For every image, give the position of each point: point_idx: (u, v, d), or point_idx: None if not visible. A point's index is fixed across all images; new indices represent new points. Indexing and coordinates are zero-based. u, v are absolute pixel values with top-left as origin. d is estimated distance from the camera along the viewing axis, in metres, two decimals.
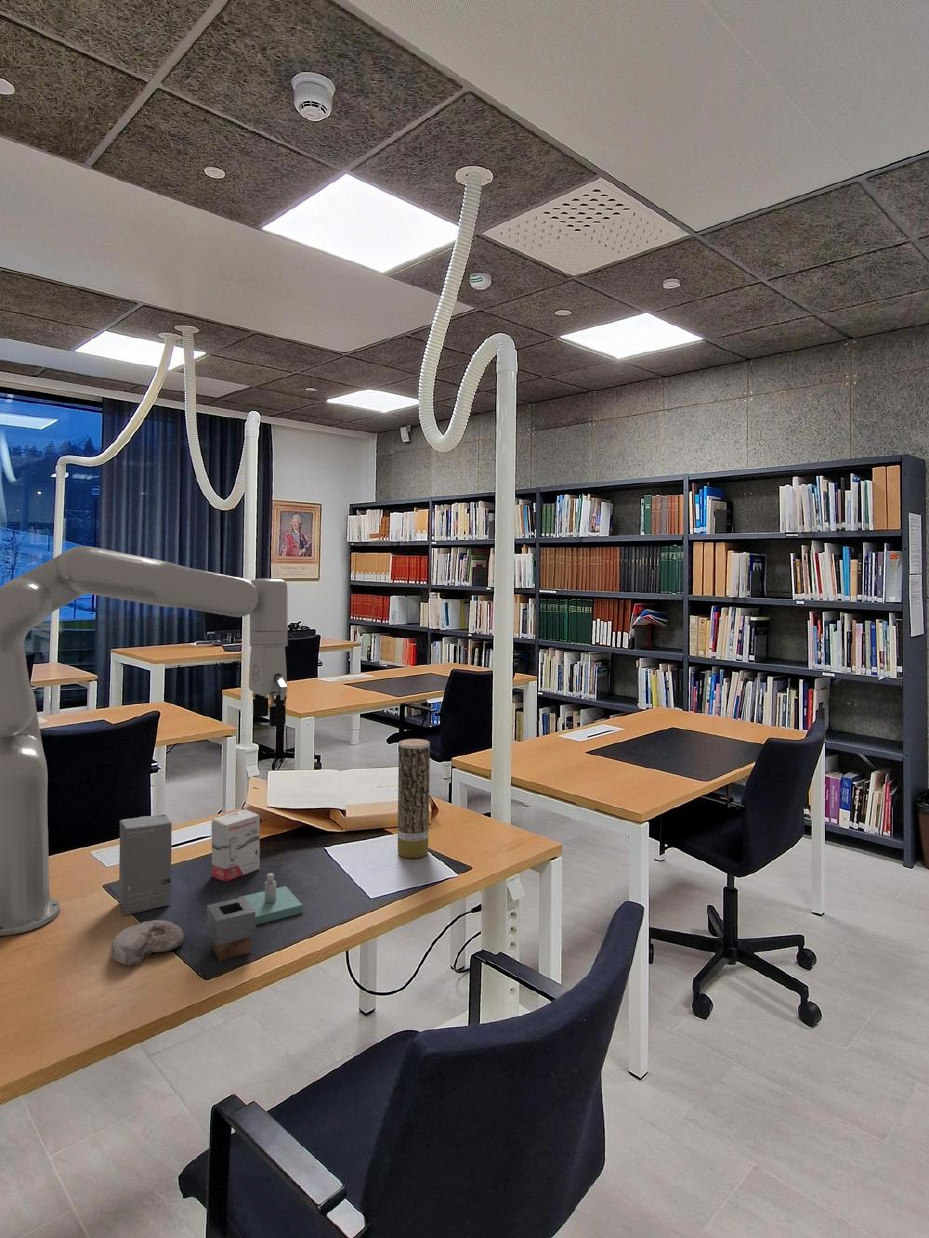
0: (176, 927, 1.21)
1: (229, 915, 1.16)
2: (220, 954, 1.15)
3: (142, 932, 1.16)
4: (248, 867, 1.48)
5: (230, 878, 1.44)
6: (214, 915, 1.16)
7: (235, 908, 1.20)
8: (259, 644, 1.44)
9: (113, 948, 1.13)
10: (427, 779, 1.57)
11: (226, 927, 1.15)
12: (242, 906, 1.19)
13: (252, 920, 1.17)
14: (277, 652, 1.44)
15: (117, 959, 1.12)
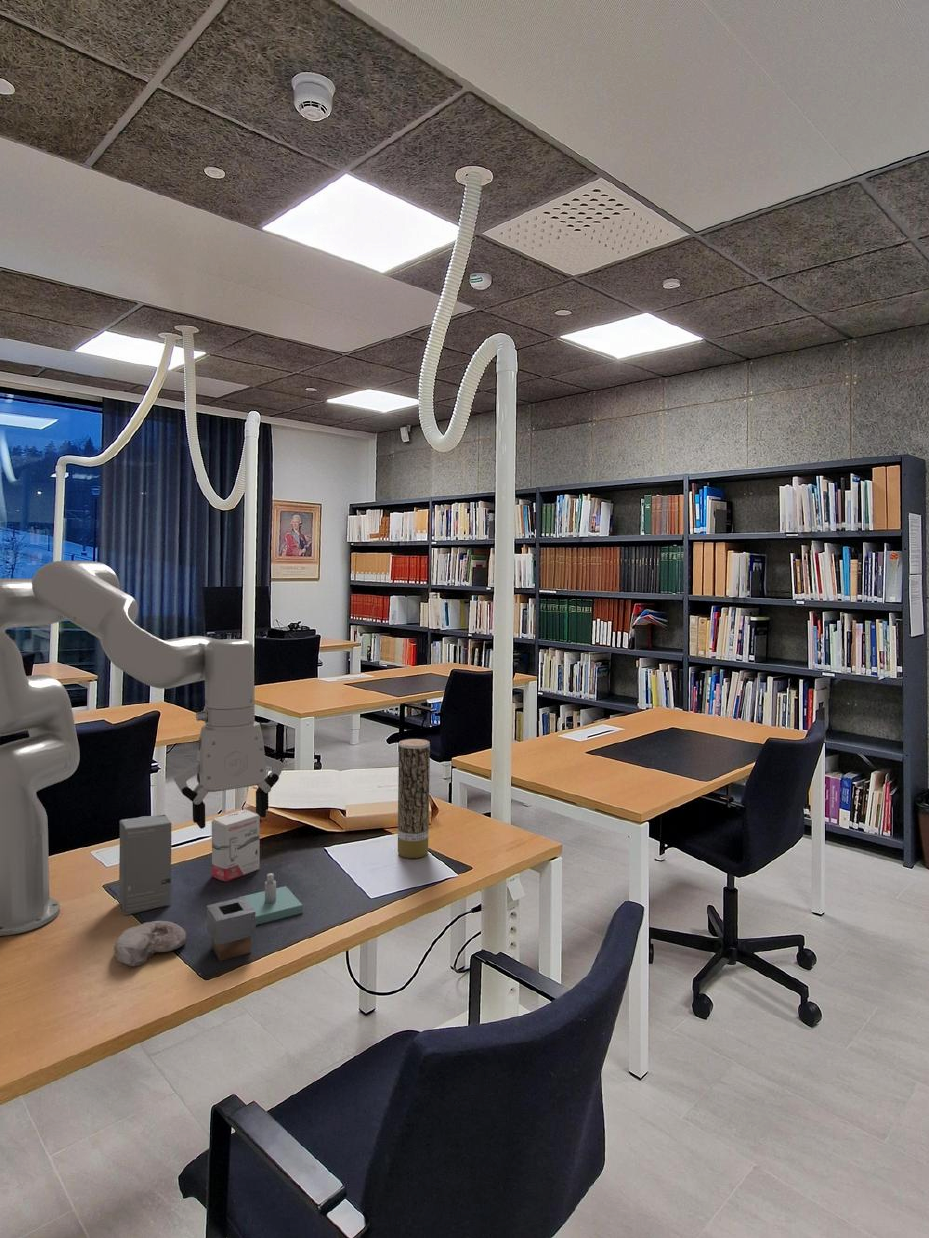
0: (178, 927, 1.21)
1: (229, 915, 1.16)
2: (220, 954, 1.15)
3: (145, 932, 1.16)
4: (248, 867, 1.48)
5: (230, 878, 1.44)
6: (214, 915, 1.16)
7: (235, 908, 1.20)
8: (249, 723, 1.15)
9: (117, 949, 1.13)
10: (427, 779, 1.57)
11: (226, 927, 1.15)
12: (242, 906, 1.19)
13: (252, 920, 1.17)
14: None
15: (122, 960, 1.11)
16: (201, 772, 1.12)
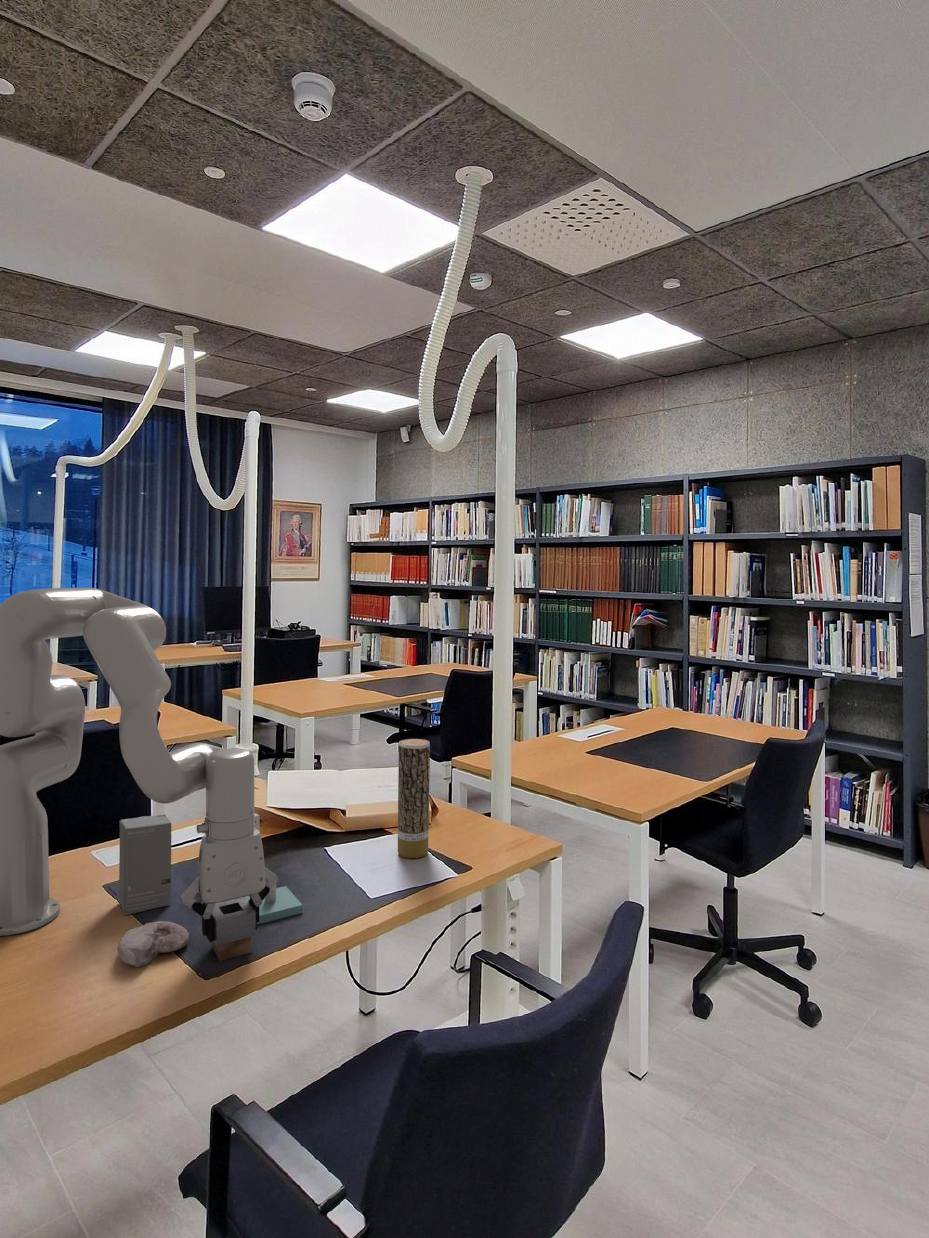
0: (180, 927, 1.21)
1: (229, 915, 1.16)
2: (220, 954, 1.15)
3: (148, 933, 1.16)
4: None
5: None
6: (214, 915, 1.16)
7: (235, 908, 1.20)
8: (249, 834, 1.16)
9: (121, 950, 1.12)
10: (427, 779, 1.57)
11: (226, 927, 1.15)
12: (242, 906, 1.19)
13: (252, 920, 1.17)
14: None
15: (127, 961, 1.11)
16: (201, 885, 1.13)
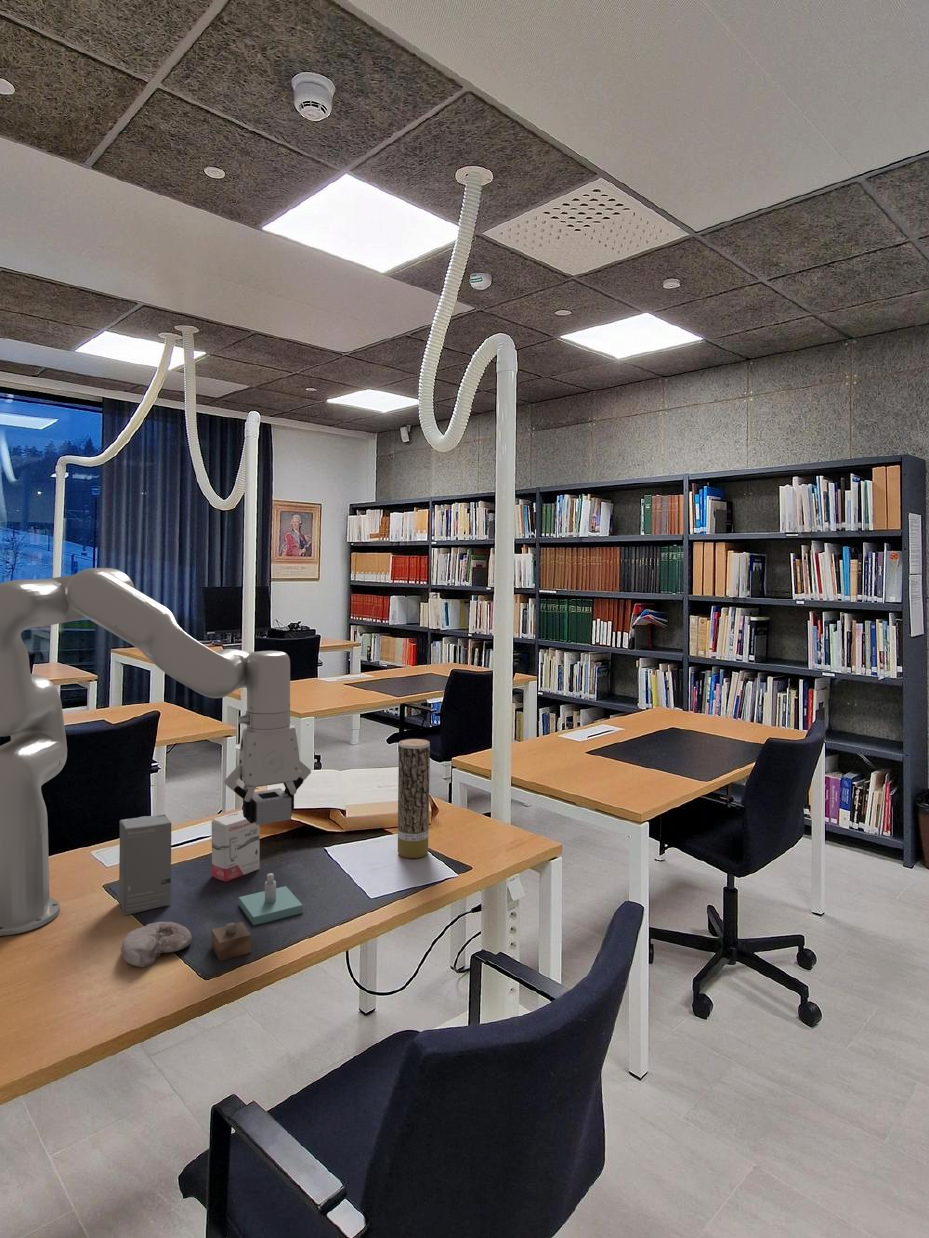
0: (182, 927, 1.21)
1: (268, 799, 1.28)
2: (220, 954, 1.15)
3: (152, 933, 1.16)
4: (248, 867, 1.48)
5: (230, 878, 1.44)
6: (254, 799, 1.28)
7: (272, 797, 1.33)
8: (286, 726, 1.29)
9: (125, 951, 1.12)
10: (427, 779, 1.57)
11: (265, 809, 1.27)
12: (279, 794, 1.31)
13: (288, 805, 1.29)
14: None
15: (131, 962, 1.11)
16: (243, 769, 1.26)
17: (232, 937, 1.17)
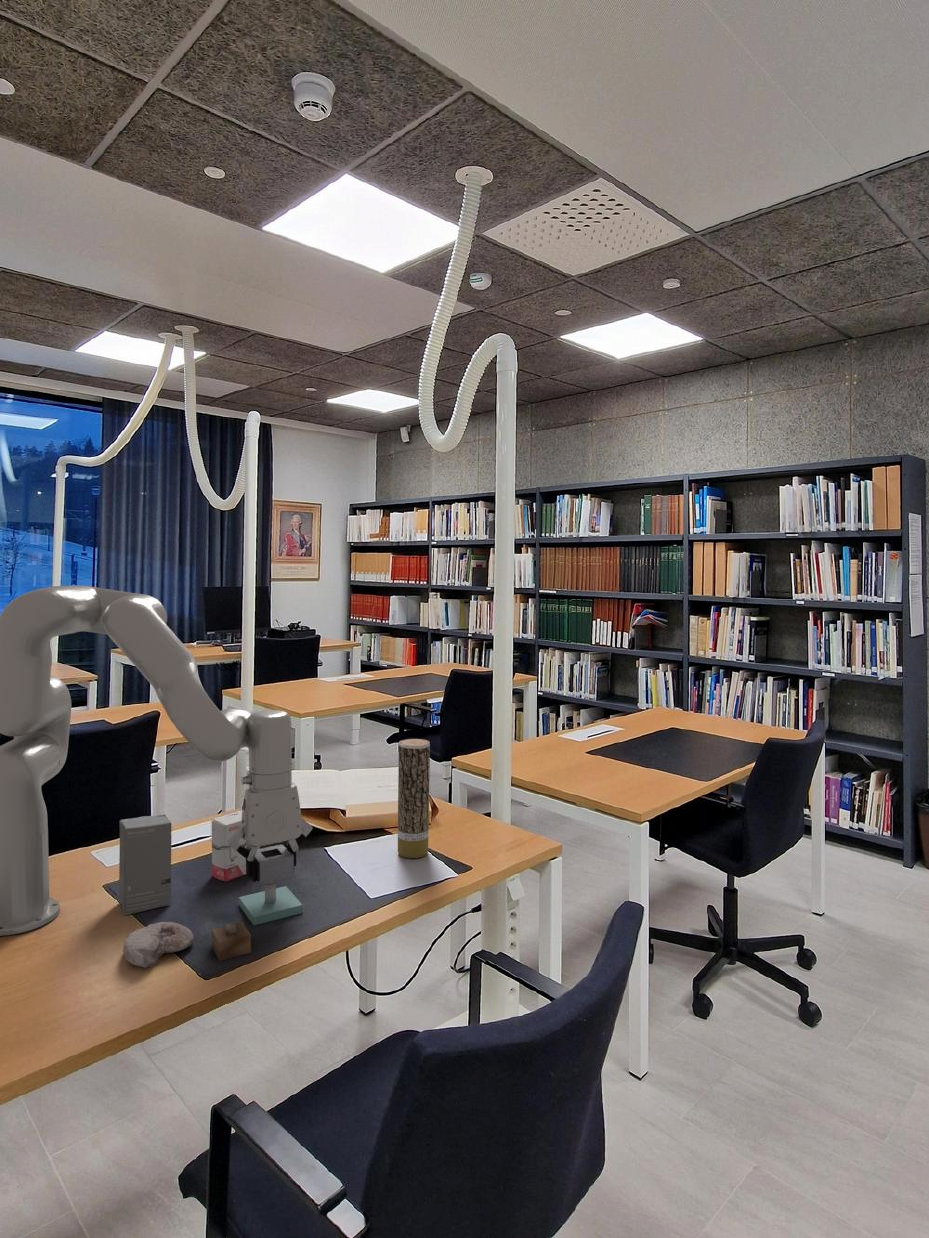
0: (184, 927, 1.21)
1: (270, 858, 1.30)
2: (220, 954, 1.15)
3: (154, 933, 1.16)
4: None
5: (230, 878, 1.44)
6: (257, 858, 1.30)
7: (275, 854, 1.34)
8: (288, 786, 1.30)
9: (128, 951, 1.12)
10: (427, 779, 1.57)
11: (268, 868, 1.29)
12: (281, 851, 1.33)
13: (291, 863, 1.31)
14: None
15: (134, 962, 1.11)
16: (246, 830, 1.27)
17: (232, 937, 1.17)
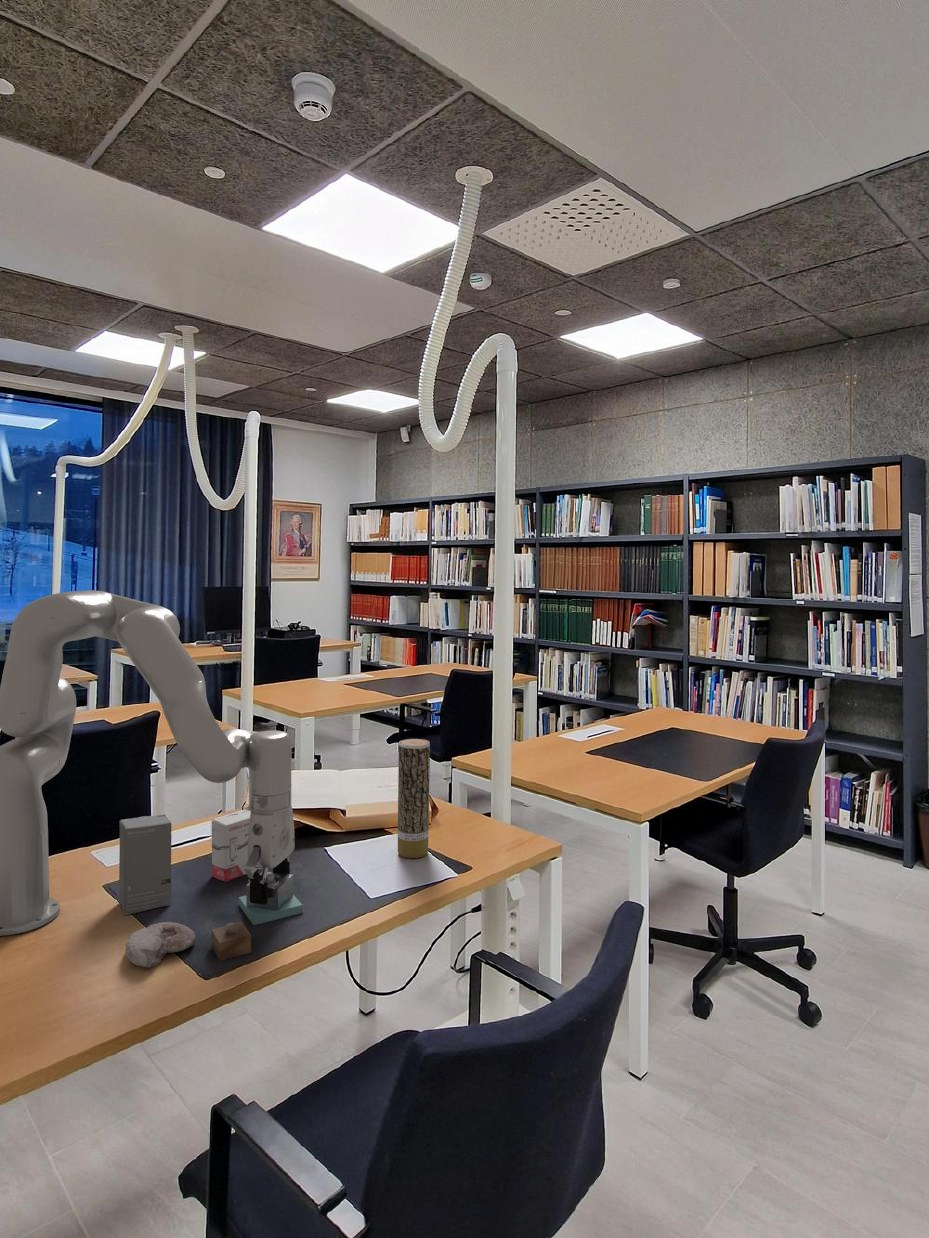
0: (185, 927, 1.21)
1: (279, 883, 1.31)
2: (220, 954, 1.15)
3: (156, 934, 1.16)
4: None
5: (230, 878, 1.44)
6: None
7: (265, 881, 1.34)
8: None
9: (130, 952, 1.12)
10: (427, 779, 1.57)
11: (281, 893, 1.30)
12: (275, 876, 1.34)
13: (292, 882, 1.34)
14: None
15: (138, 962, 1.11)
16: (266, 853, 1.27)
17: (232, 937, 1.17)
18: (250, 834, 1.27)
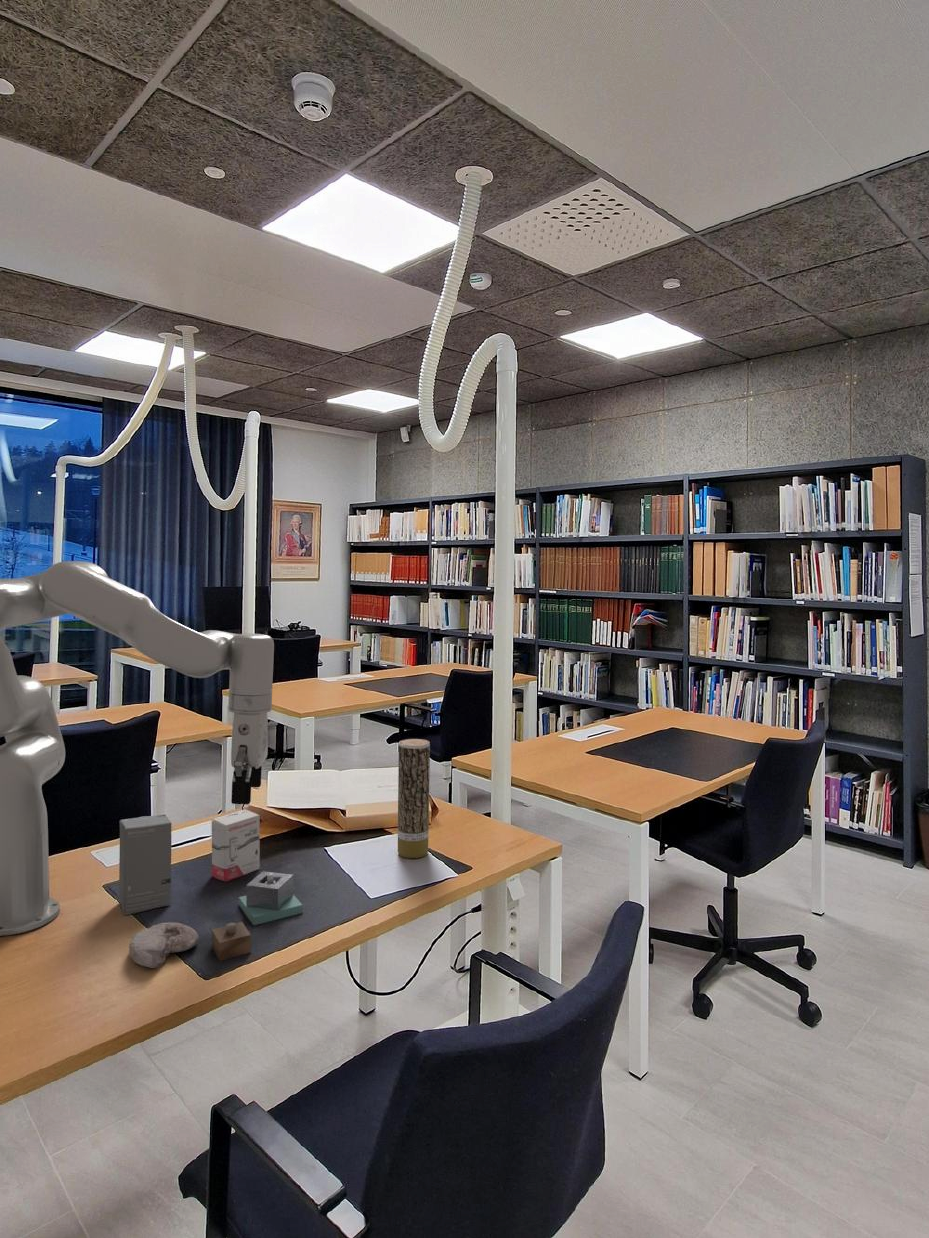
0: (188, 927, 1.21)
1: (279, 883, 1.31)
2: (220, 954, 1.15)
3: (160, 934, 1.16)
4: (248, 867, 1.48)
5: (230, 878, 1.44)
6: (267, 887, 1.29)
7: (265, 881, 1.34)
8: None
9: (135, 953, 1.12)
10: (427, 779, 1.57)
11: (281, 893, 1.30)
12: (275, 876, 1.34)
13: (292, 882, 1.34)
14: None
15: (143, 963, 1.11)
16: (253, 753, 1.26)
17: (232, 937, 1.17)
18: (235, 734, 1.26)
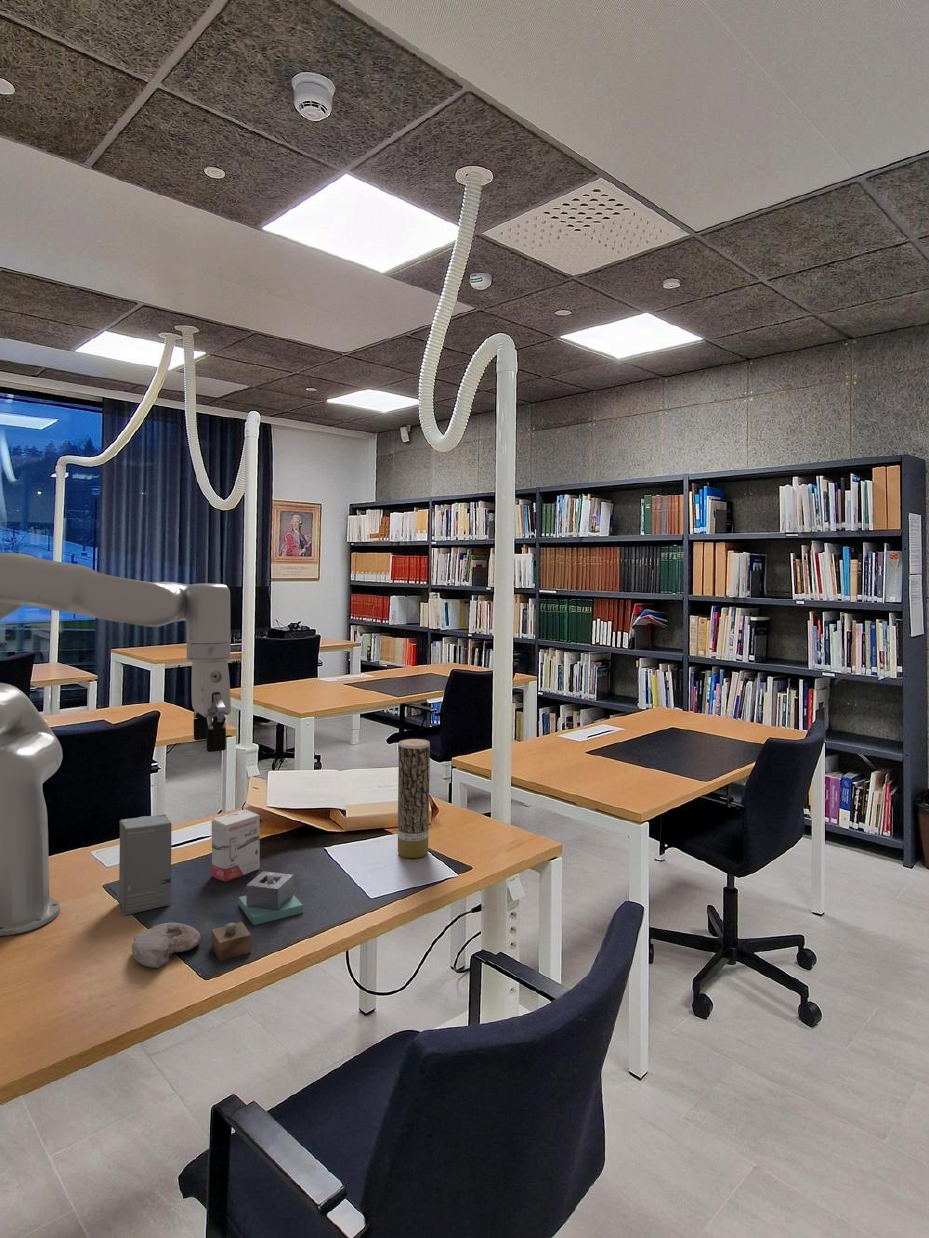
0: (189, 926, 1.21)
1: (279, 883, 1.31)
2: (220, 954, 1.15)
3: (163, 934, 1.16)
4: (248, 867, 1.48)
5: (230, 878, 1.44)
6: (267, 887, 1.29)
7: (265, 881, 1.34)
8: None
9: (139, 953, 1.12)
10: (427, 779, 1.57)
11: (281, 893, 1.30)
12: (275, 876, 1.34)
13: (292, 882, 1.34)
14: None
15: (147, 963, 1.11)
16: (226, 699, 1.28)
17: (232, 937, 1.17)
18: (207, 683, 1.26)
